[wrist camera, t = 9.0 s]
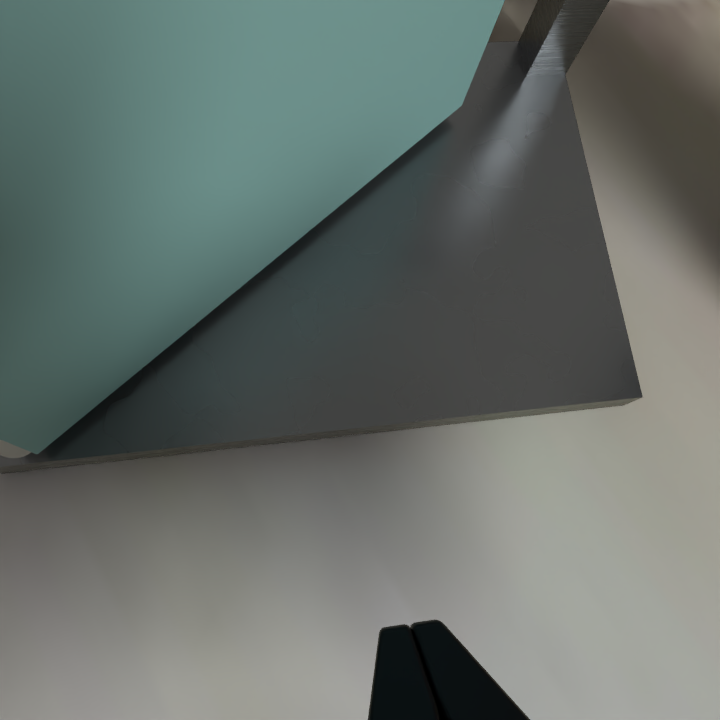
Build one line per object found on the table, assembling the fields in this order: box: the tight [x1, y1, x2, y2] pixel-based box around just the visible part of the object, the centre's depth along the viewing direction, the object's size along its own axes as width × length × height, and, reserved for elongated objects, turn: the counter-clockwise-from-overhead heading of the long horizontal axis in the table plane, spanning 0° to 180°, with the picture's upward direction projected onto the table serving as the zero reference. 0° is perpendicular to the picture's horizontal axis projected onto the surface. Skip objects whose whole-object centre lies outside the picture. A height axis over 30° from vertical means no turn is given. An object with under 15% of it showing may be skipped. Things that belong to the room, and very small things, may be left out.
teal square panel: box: [0, 0, 505, 458], centre depth 11 cm, size 1×14×13 cm, turn 134°
